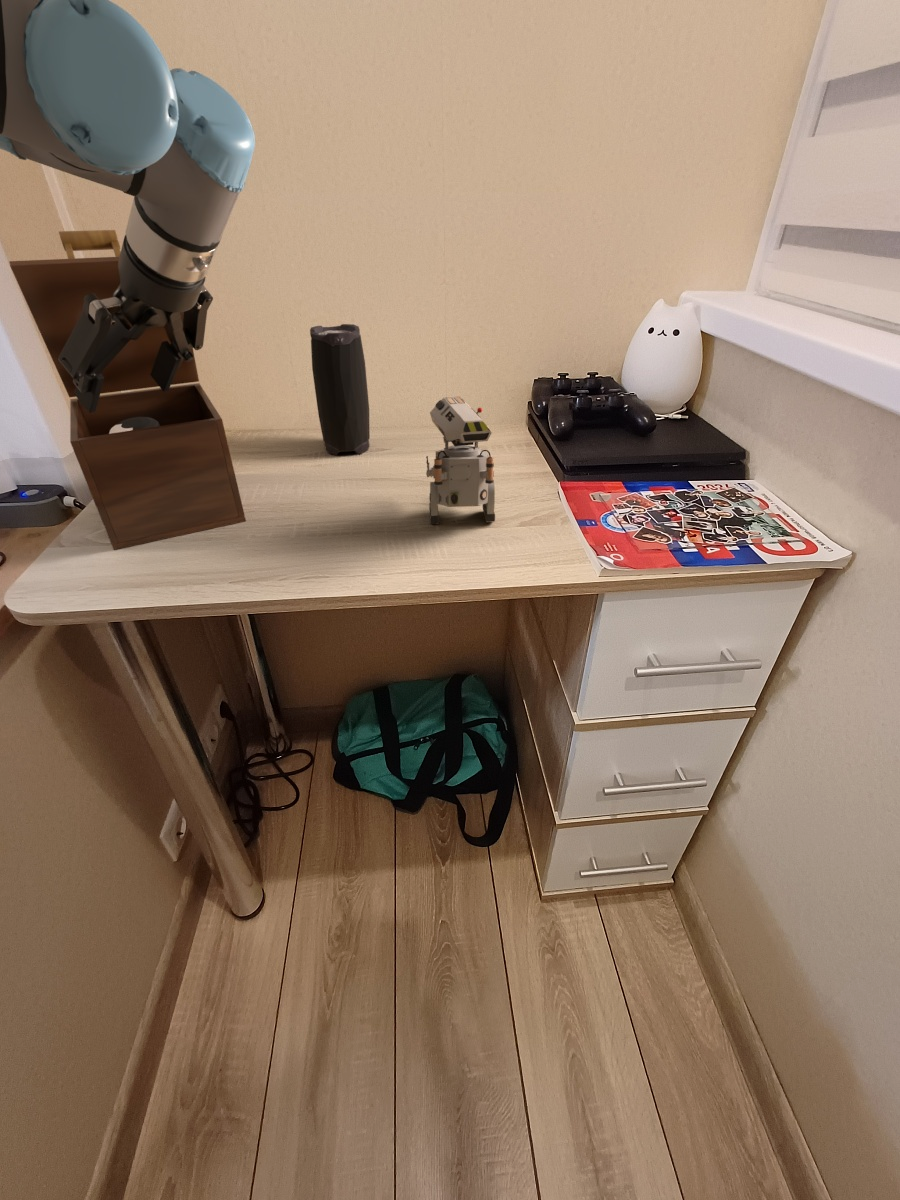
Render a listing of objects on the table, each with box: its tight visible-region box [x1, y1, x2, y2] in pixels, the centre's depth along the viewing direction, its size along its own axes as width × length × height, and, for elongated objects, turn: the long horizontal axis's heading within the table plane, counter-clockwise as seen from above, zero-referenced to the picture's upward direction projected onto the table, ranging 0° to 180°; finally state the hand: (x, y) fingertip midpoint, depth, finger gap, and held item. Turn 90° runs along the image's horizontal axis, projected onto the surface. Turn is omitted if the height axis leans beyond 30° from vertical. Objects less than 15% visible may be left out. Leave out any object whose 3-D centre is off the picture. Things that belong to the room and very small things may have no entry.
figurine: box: [425, 396, 496, 525], centre depth 77 cm, size 9×12×15 cm
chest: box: [69, 382, 247, 551], centre depth 78 cm, size 18×17×14 cm
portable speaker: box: [309, 323, 371, 456], centre depth 95 cm, size 9×9×20 cm
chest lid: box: [8, 229, 200, 398], centre depth 73 cm, size 18×17×9 cm
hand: (124, 392), depth 72 cm, fingers open, 10 cm apart
